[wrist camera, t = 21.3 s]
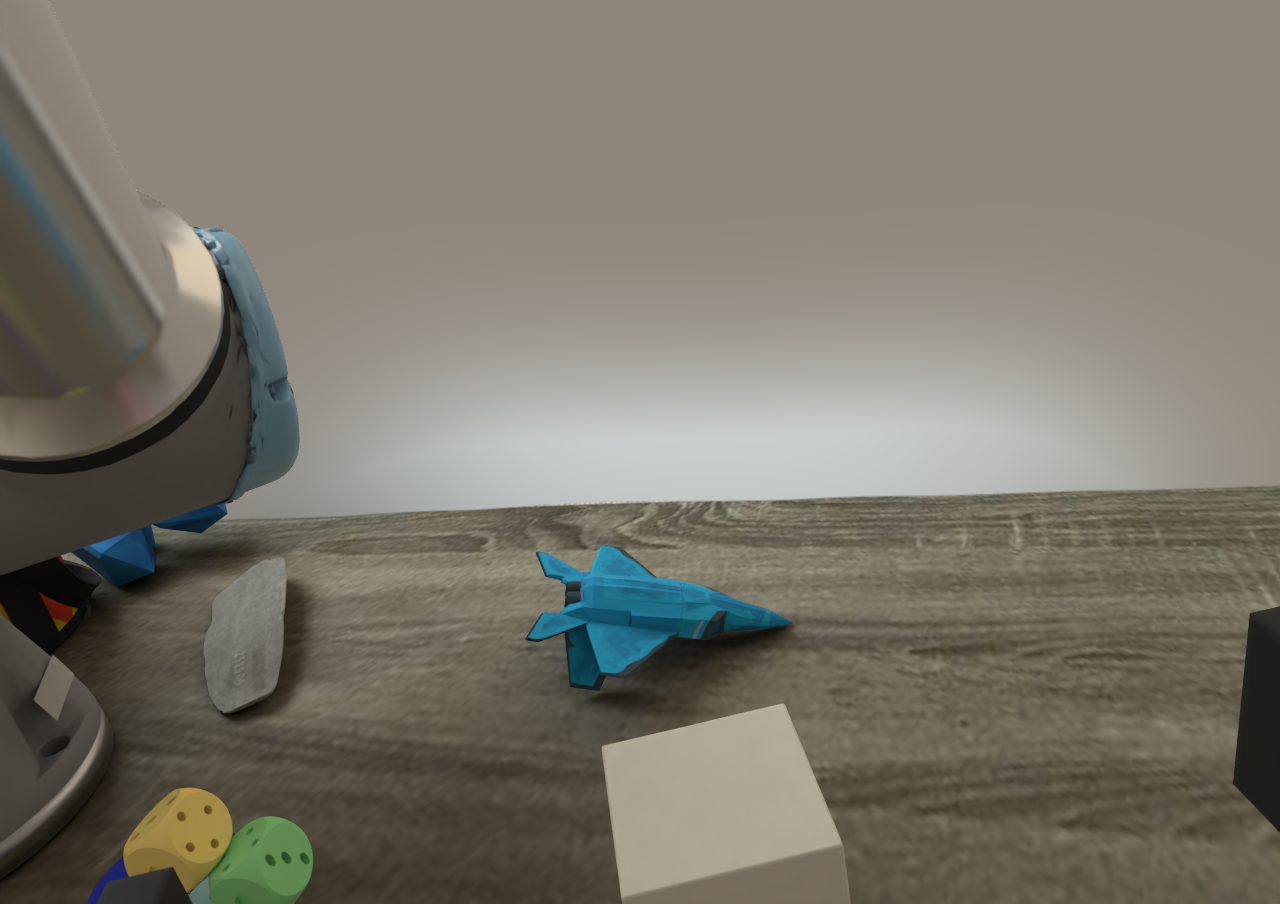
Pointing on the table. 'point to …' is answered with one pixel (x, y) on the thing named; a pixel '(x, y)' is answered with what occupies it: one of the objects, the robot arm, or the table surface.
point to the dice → (217, 852)
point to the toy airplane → (633, 615)
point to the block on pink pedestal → (722, 816)
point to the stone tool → (247, 637)
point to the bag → (47, 599)
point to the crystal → (142, 546)
